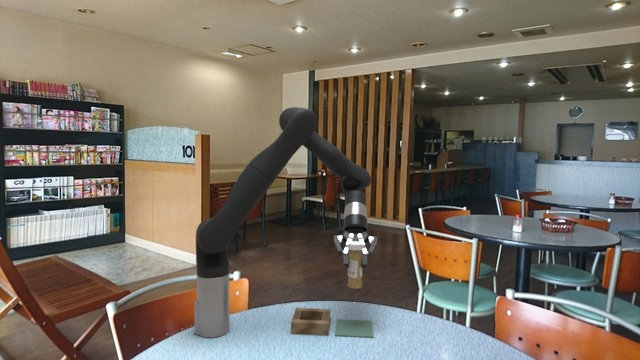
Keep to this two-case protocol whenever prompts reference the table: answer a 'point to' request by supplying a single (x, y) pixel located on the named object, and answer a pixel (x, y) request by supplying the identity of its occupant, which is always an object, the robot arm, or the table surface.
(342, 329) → the rubber mat
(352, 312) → the table surface
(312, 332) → the keeper collar
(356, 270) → the sprinkles bottle
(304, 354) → the table surface
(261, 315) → the table surface
